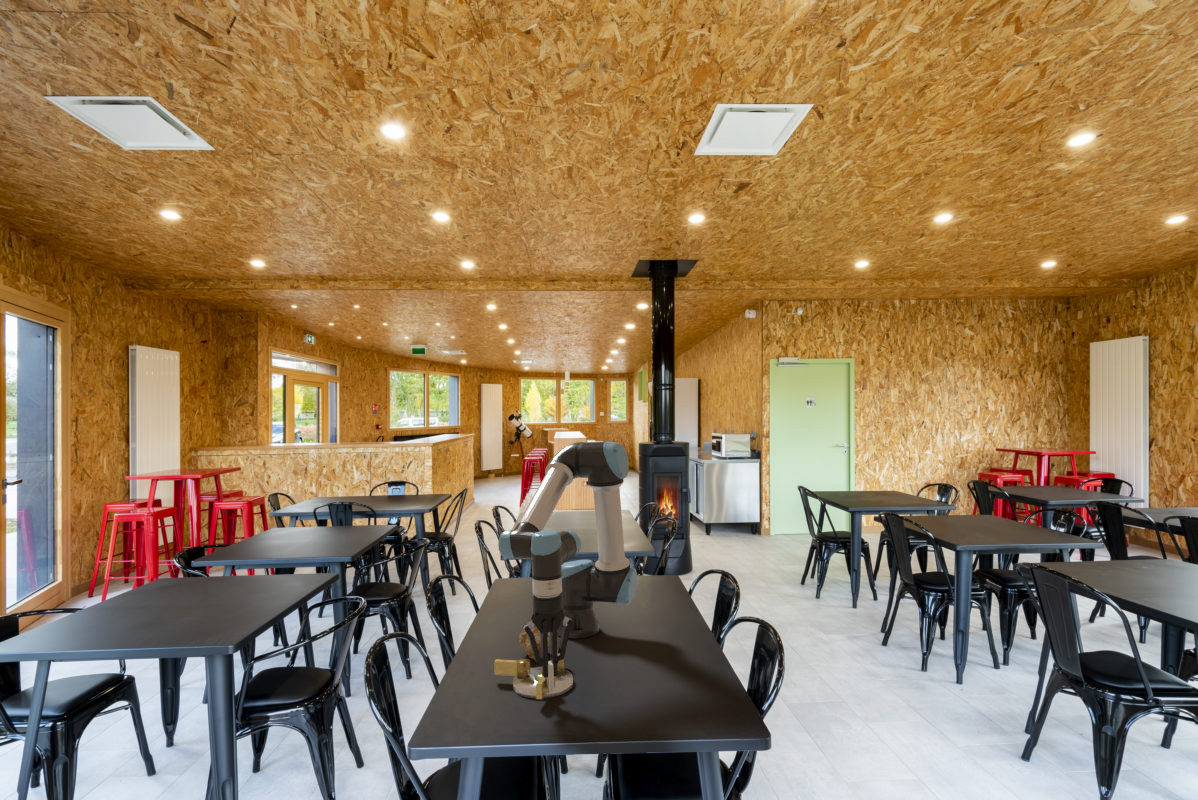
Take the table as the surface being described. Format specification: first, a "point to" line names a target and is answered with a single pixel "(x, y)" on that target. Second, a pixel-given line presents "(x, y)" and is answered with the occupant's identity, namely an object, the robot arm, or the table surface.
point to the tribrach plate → (529, 685)
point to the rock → (526, 643)
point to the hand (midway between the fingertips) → (550, 689)
